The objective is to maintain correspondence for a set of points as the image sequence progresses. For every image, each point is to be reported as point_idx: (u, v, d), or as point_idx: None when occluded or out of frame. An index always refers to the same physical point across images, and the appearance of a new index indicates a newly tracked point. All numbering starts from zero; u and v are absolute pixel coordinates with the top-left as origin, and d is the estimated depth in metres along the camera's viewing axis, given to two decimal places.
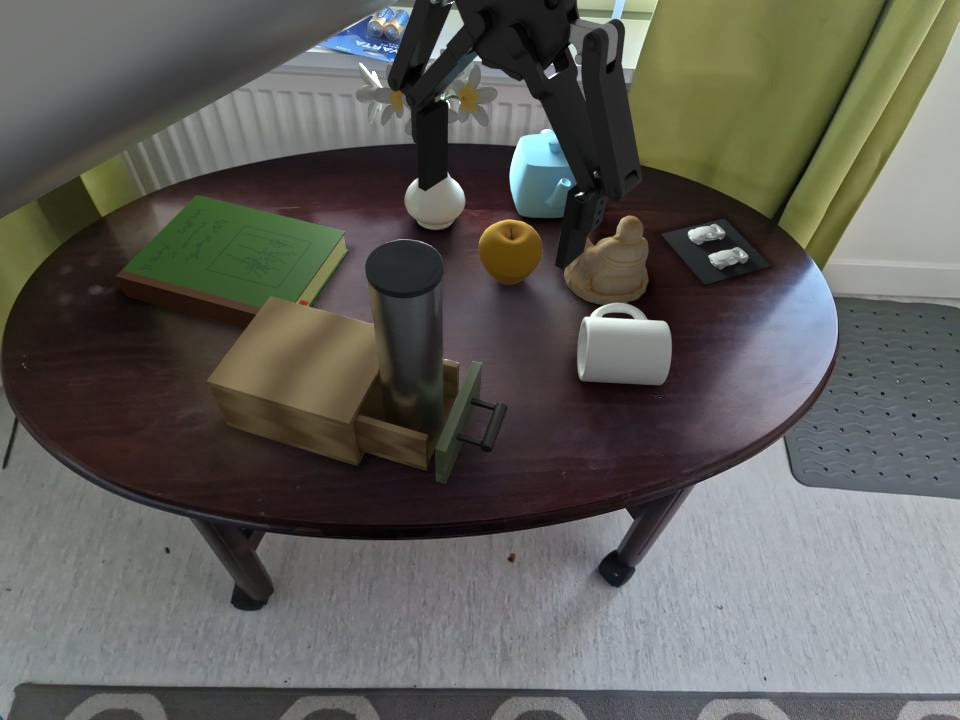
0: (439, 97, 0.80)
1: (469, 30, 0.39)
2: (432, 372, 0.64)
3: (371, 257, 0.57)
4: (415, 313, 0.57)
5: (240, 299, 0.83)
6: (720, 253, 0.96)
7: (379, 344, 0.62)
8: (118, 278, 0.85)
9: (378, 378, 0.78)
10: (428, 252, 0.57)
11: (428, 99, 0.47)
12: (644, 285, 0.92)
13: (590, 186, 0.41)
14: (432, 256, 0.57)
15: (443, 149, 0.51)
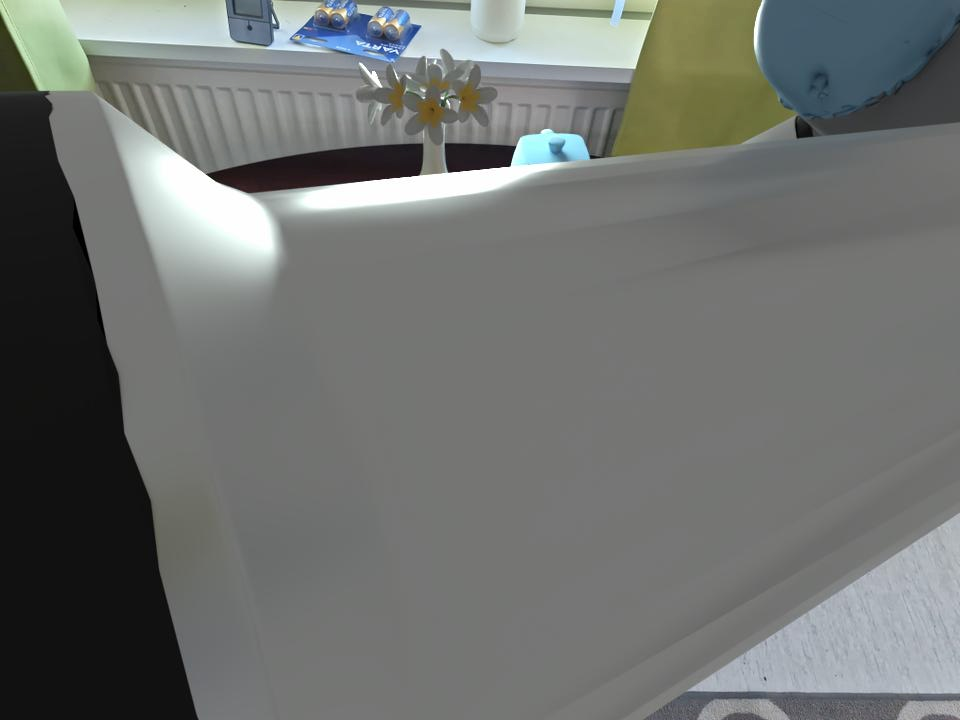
0: (439, 97, 0.80)
1: None
2: None
3: None
4: None
5: None
6: None
7: None
8: None
9: None
10: None
11: None
12: None
13: None
14: None
15: None
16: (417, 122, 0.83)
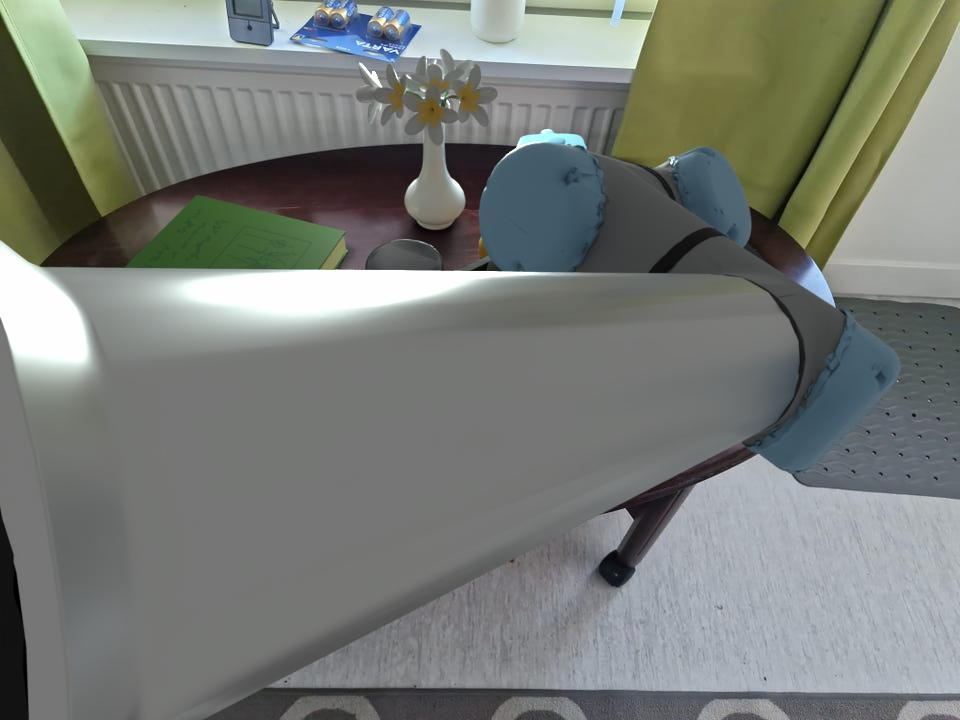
0: (439, 97, 0.80)
1: None
2: None
3: (371, 257, 0.57)
4: None
5: None
6: None
7: None
8: None
9: None
10: (428, 252, 0.57)
11: None
12: None
13: None
14: (432, 256, 0.57)
15: None
16: (417, 122, 0.83)
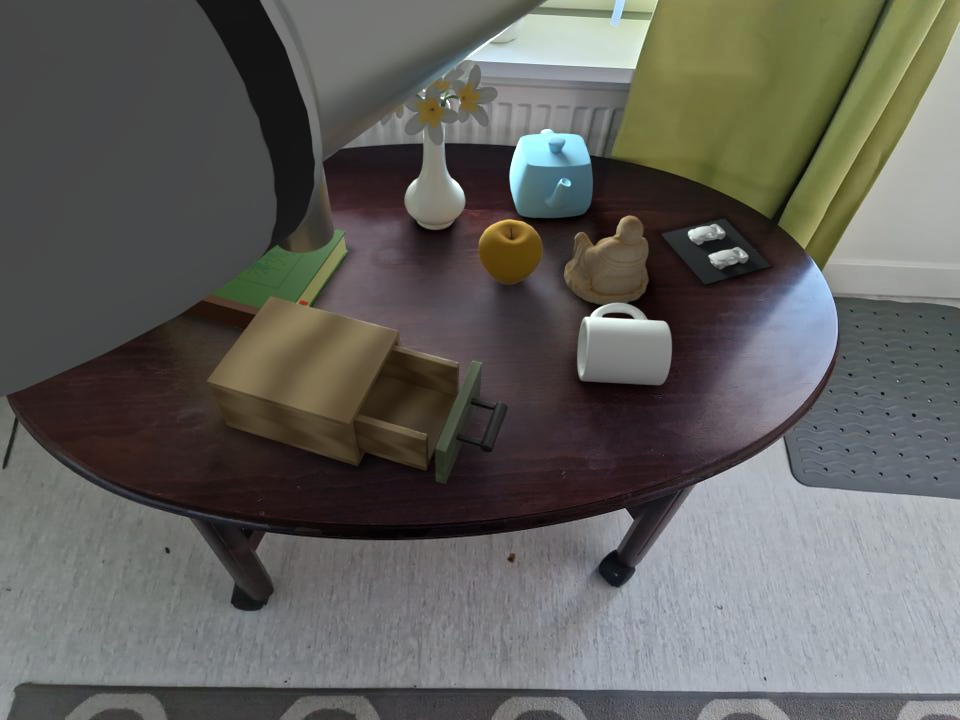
0: (439, 97, 0.80)
1: None
2: None
3: None
4: None
5: (240, 300, 0.83)
6: (720, 253, 0.96)
7: None
8: None
9: (378, 378, 0.78)
10: None
11: None
12: (644, 285, 0.92)
13: None
14: None
15: None
16: (417, 122, 0.83)
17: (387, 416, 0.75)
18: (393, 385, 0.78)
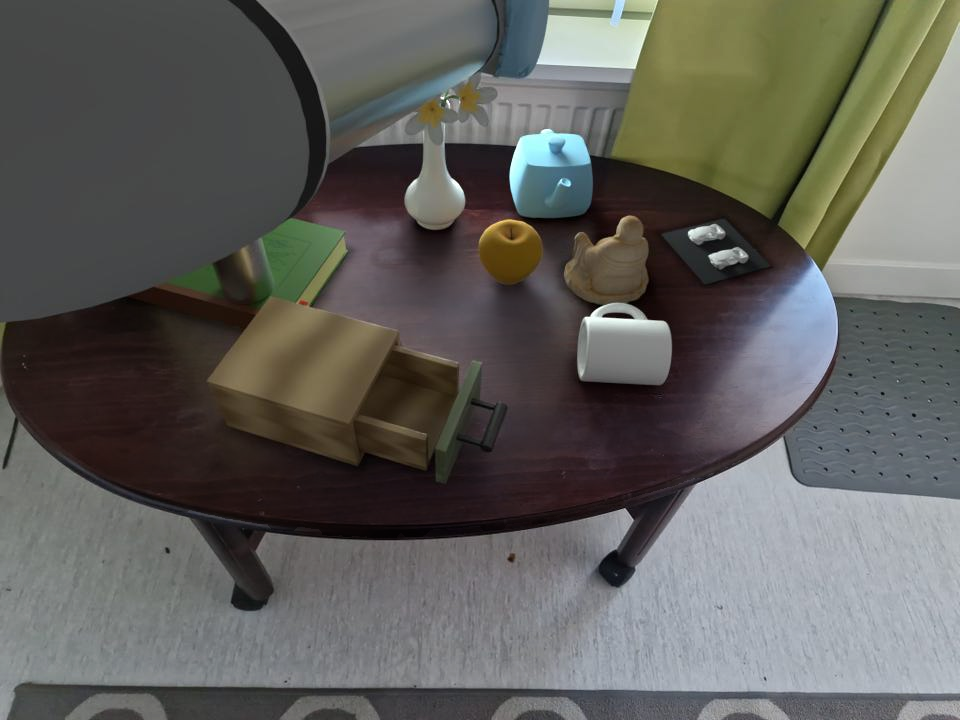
0: (439, 97, 0.80)
1: None
2: None
3: None
4: None
5: None
6: (720, 253, 0.96)
7: None
8: None
9: (378, 378, 0.78)
10: None
11: None
12: (644, 285, 0.92)
13: None
14: None
15: None
16: (417, 122, 0.83)
17: (387, 416, 0.75)
18: (393, 385, 0.78)
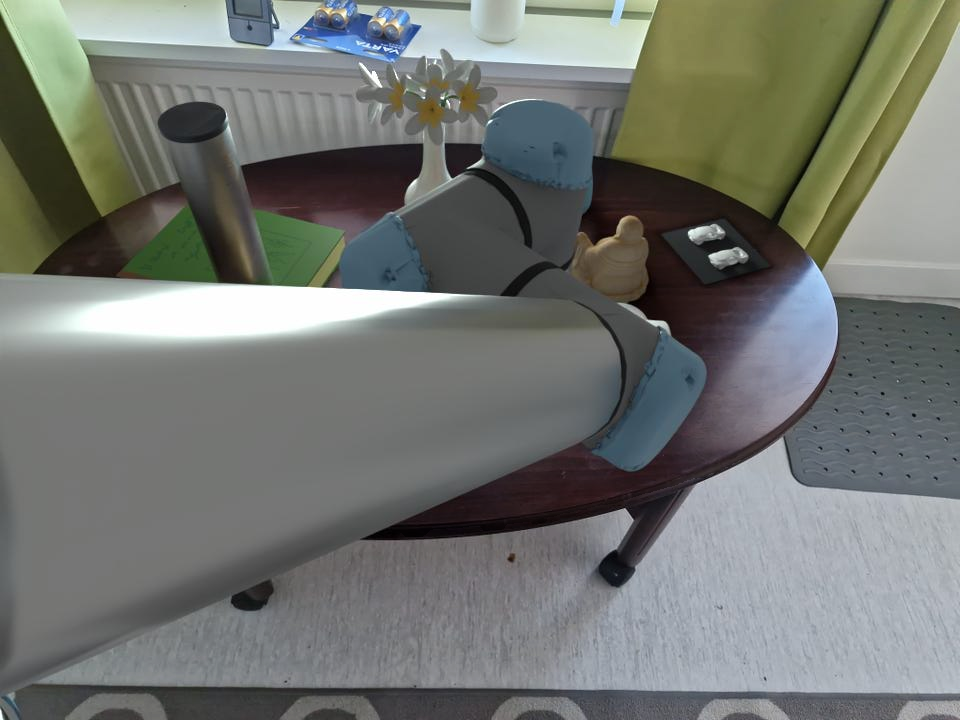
0: (439, 97, 0.80)
1: None
2: (249, 219, 0.75)
3: (160, 121, 0.66)
4: (218, 155, 0.67)
5: None
6: (720, 253, 0.96)
7: (195, 204, 0.71)
8: None
9: None
10: (208, 106, 0.68)
11: None
12: (644, 285, 0.92)
13: None
14: (213, 107, 0.68)
15: None
16: (417, 122, 0.83)
17: None
18: None
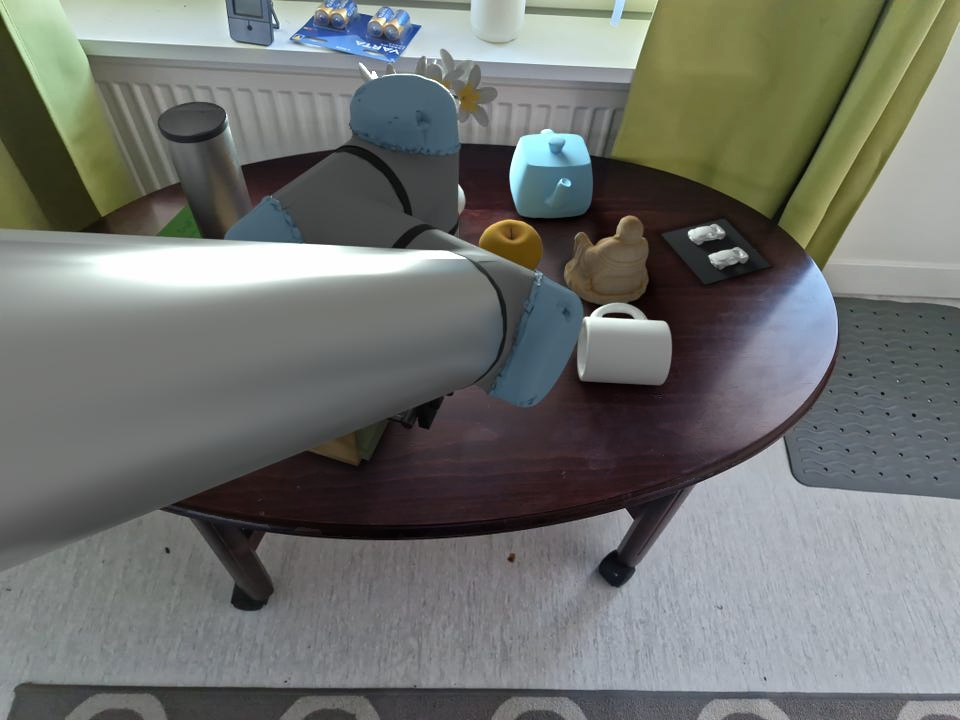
0: None
1: None
2: None
3: (160, 121, 0.66)
4: (218, 155, 0.67)
5: None
6: (720, 253, 0.96)
7: (195, 204, 0.71)
8: None
9: None
10: (208, 106, 0.68)
11: None
12: (644, 285, 0.92)
13: None
14: (213, 108, 0.68)
15: None
16: None
17: None
18: None
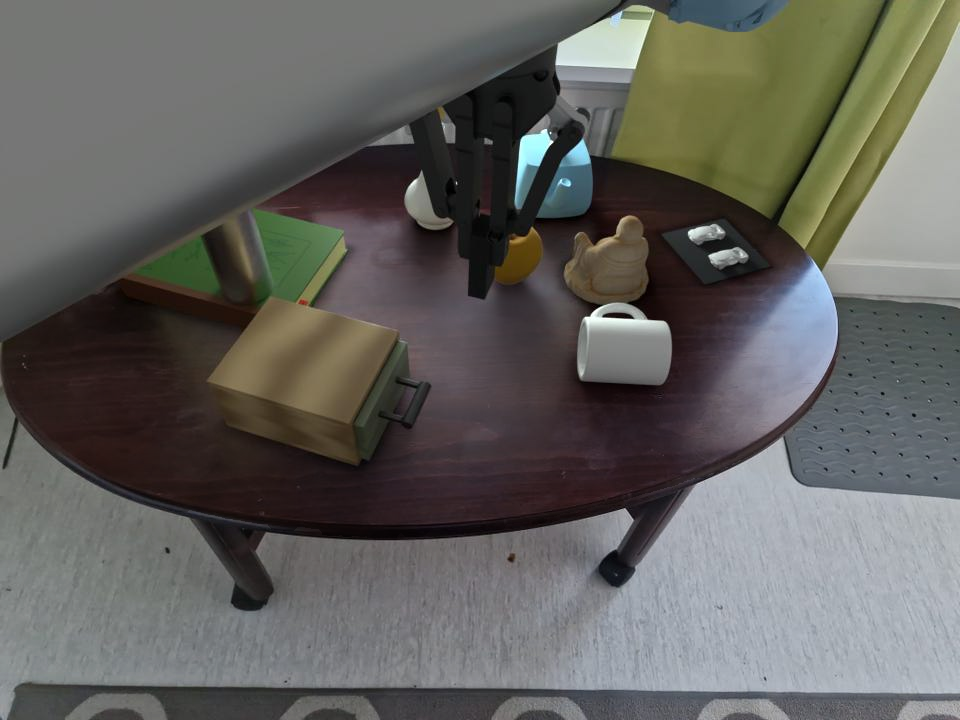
0: None
1: (462, 115, 0.41)
2: (249, 219, 0.75)
3: None
4: None
5: None
6: (720, 253, 0.96)
7: None
8: None
9: None
10: None
11: (475, 213, 0.49)
12: (644, 285, 0.92)
13: (501, 232, 0.48)
14: None
15: None
16: None
17: None
18: None
